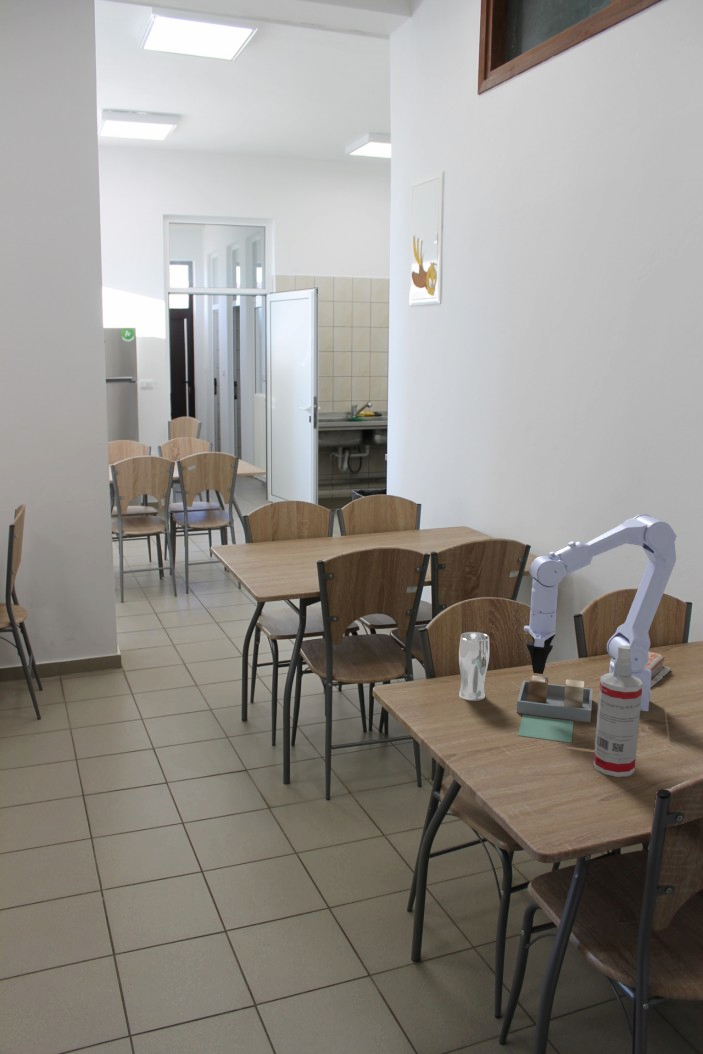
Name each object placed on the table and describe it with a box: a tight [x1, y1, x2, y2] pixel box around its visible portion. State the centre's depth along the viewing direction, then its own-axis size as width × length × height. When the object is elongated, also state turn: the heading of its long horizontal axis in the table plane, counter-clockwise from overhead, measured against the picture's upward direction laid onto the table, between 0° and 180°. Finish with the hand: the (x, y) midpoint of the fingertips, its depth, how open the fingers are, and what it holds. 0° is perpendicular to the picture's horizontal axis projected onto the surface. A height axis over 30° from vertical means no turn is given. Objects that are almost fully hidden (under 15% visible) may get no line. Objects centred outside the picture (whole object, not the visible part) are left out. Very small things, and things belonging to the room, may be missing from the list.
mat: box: [517, 714, 575, 744], centre depth 190 cm, size 11×11×1 cm
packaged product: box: [644, 650, 672, 688], centre depth 223 cm, size 18×5×10 cm
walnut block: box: [528, 674, 549, 704], centre depth 203 cm, size 4×4×6 cm
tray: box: [516, 680, 594, 723], centre depth 202 cm, size 16×13×3 cm
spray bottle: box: [593, 645, 643, 778], centre depth 172 cm, size 8×8×25 cm
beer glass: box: [458, 631, 490, 702], centre depth 206 cm, size 7×7×15 cm
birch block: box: [564, 679, 585, 708], centre depth 201 cm, size 4×4×6 cm
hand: (539, 667), depth 202 cm, fingers open, 7 cm apart
